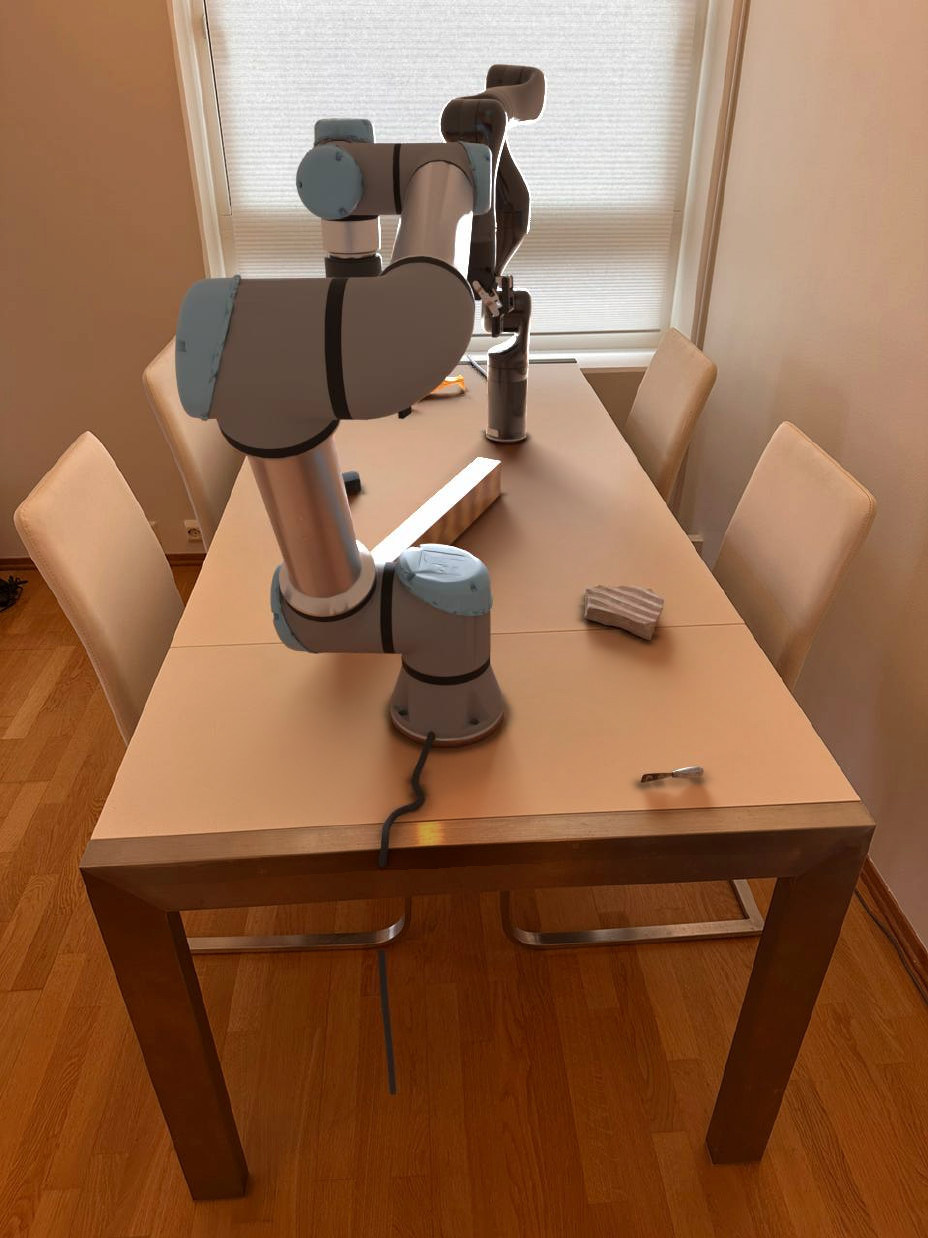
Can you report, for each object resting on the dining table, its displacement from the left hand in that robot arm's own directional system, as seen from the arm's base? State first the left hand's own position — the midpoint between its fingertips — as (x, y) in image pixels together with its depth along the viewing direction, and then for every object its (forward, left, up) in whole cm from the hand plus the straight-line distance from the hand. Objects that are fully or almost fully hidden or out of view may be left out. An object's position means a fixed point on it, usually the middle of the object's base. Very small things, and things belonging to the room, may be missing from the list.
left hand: (363, 409), depth 129 cm
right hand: (+39, -8, +1) cm, 40 cm away
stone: (+3, -40, -32) cm, 52 cm away
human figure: (+105, +20, -32) cm, 112 cm away
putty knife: (-34, -48, -32) cm, 67 cm away
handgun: (+35, +19, -32) cm, 52 cm away
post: (+20, -4, -32) cm, 38 cm away
